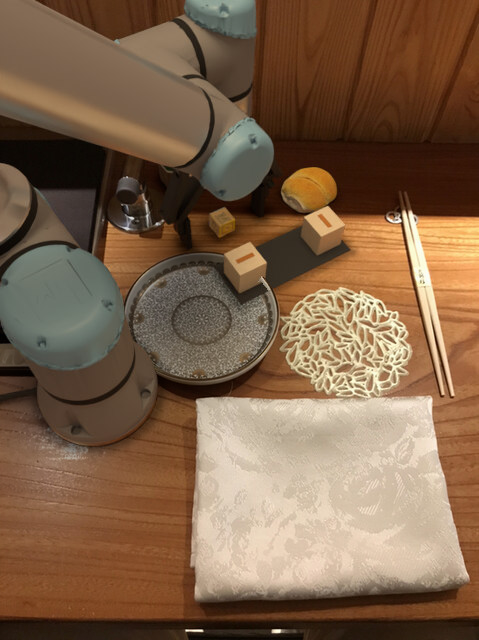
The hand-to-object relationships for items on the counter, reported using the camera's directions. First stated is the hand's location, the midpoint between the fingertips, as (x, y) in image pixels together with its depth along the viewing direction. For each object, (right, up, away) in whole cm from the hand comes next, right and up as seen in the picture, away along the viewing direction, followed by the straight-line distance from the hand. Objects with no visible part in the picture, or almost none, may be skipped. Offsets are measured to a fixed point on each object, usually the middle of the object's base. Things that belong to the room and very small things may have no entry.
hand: (222, 228), depth 89 cm
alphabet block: (0, 0, 0) cm, 0 cm away
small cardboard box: (+3, -8, -5) cm, 10 cm away
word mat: (+9, -5, -3) cm, 11 cm away
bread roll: (+14, +6, +4) cm, 16 cm away
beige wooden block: (+15, -2, -1) cm, 16 cm away
